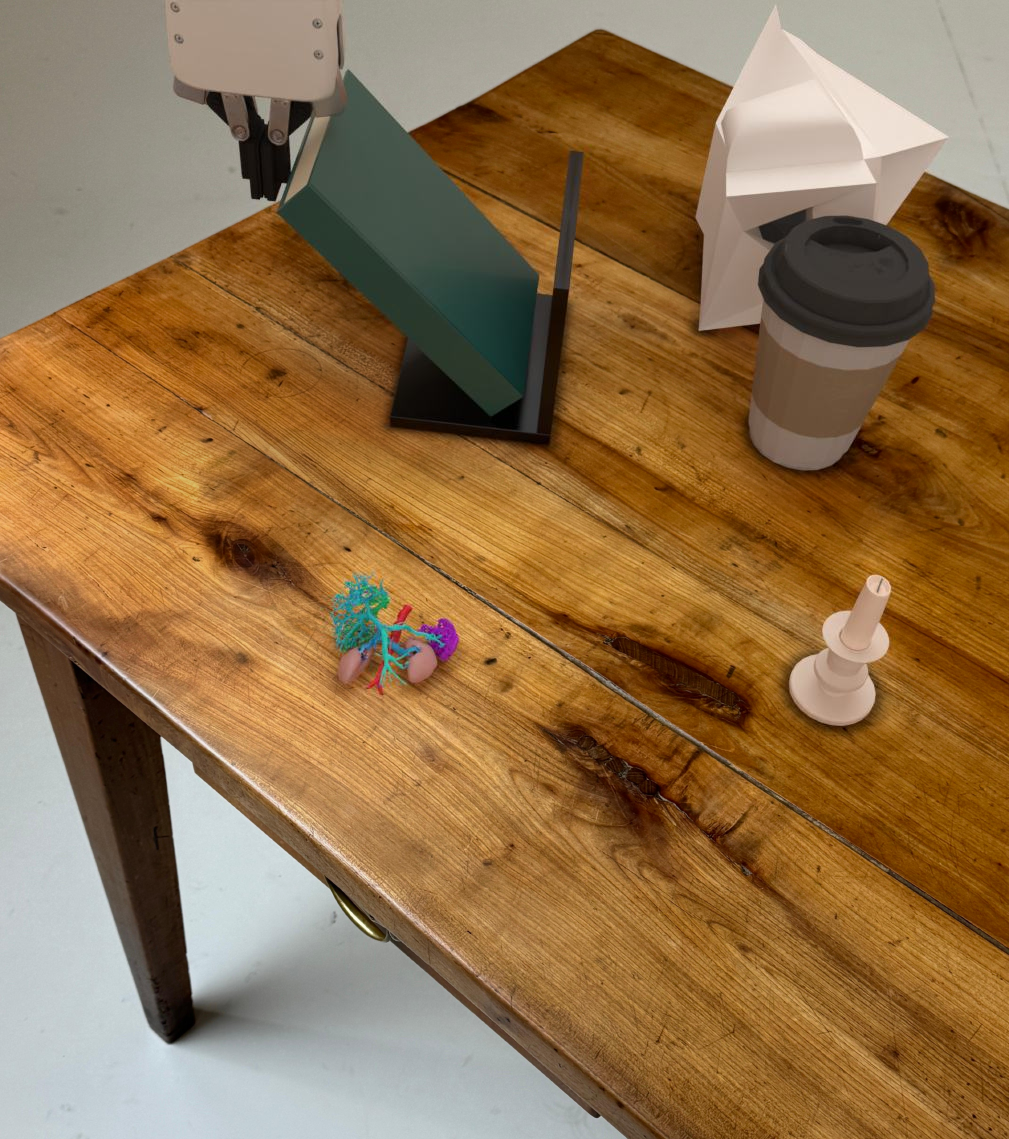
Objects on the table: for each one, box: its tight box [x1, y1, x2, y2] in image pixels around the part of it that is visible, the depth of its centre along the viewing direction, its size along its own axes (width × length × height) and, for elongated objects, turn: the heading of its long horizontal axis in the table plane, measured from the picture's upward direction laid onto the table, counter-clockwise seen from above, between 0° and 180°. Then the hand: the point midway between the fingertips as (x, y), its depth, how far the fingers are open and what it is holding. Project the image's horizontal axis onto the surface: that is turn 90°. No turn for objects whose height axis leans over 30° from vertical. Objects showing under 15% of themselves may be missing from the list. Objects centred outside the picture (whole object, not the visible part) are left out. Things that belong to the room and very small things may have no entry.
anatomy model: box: [328, 571, 460, 696], centre depth 75 cm, size 5×8×7 cm
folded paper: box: [694, 4, 950, 332], centre depth 99 cm, size 17×24×17 cm
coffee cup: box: [747, 215, 936, 471], centre depth 86 cm, size 11×11×15 cm
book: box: [276, 68, 540, 416], centre depth 87 cm, size 20×14×3 cm
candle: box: [788, 574, 892, 727], centre depth 74 cm, size 5×5×10 cm
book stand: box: [389, 150, 585, 446], centre depth 90 cm, size 11×16×13 cm
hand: (267, 188), depth 85 cm, fingers closed
